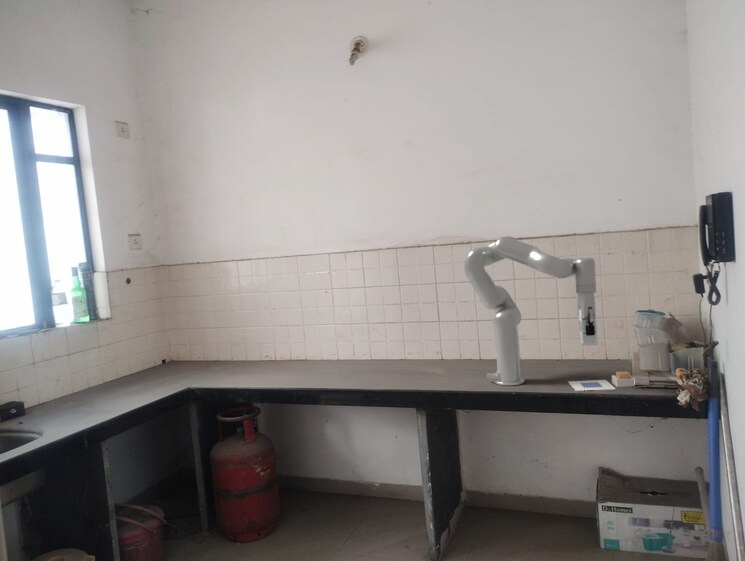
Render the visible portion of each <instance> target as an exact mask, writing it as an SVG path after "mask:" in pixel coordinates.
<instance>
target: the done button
mask: <svg viewBox="0 0 745 561" xmlns="http://www.w3.org/2000/svg"><path fill="white" fill-rule="evenodd" d="M615 375H616V377H617V378H618V379H628V378H631V376H632V375H631V373H630V372H628V370H627V371H626V370H625V371H615ZM630 375H631V376H630Z"/></svg>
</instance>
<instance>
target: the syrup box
mask: <svg viewBox="0 0 745 561" xmlns="http://www.w3.org/2000/svg"><path fill="white" fill-rule="evenodd" d="M593 316H594V314H593ZM587 317H589V316H587ZM578 318H579V319H578V320H579V334H580V335H579V336H580V344H581V345H582V346H599V345H598V344H599V343H598V328H597V314H596V315H595V317H594V328H595V335H589V336H587V335H586V317H585V318H582V311H581V310H579V316H578ZM588 320H589V319H588Z"/></svg>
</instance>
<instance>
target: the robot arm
mask: <svg viewBox="0 0 745 561" xmlns="http://www.w3.org/2000/svg"><path fill="white" fill-rule="evenodd" d="M504 259H508V260H511V261H514V262H516V263H519V264H521V265H524V266H527V267H529V268H532V269H535V271H539V272H541V273H544V274H547V275H550V276H552V277H555V278H558V279H567V278H568V277H572V276H575V278H574V280H575V293H576V294H577V316H578V317H579V310H581V311H582V318H585V317H586V335H587V336H589V335H595V328H594V317H595V315H596V316H597V314H596V312H597V311H596V300H595V294H596V293H597V283H596V282H597V280H596V266H595V264H596V262H595V259H594V258H592V257H583V258H582V257H581V258H580V257H579V258H567V257H566V258H560V257H556V256H553V255H551V254H548V253H546V252H545V251H542V250H540V248H538V247H536V246H535V245H532V244H529V243H526V242H523V241H519V240H517V239H516V238H515V237H513V236H510V235H509V236H500V237H499V238H497V240H496V241H494V242H493V243H490V244H487V245H484V246H481V247H476V248H474V249H471V251H469V252H468V253H467V255H466V256H465V259H464V264H463V265H464V266H463V267H464V274H465V275H466V277H467V279H468V281H469V282H470V284H471V286H472V288H473V289H474V290H475V293H476V294H477V295H478V296H477V297H479V299H480V301H481V302H482V304H483V306H484V307H485V308H486V309H489V310H494V313H495V314H494V316H493V320H492V326H493V334H494V339H495V354H496V366H497V367H496V368H497V369H496V370H495V371H496V372H493V373H486V378H487V379H490V380H491V379H493V380H494V383H495V384H497V385H499V386H518V385H522V384H524V383H525V378H524V377H521V363H520V345H519V335H518V330H517V327H518V325H519V324H521V322H522V314H521V311H520V310H519V307H518V306H517V304H516V303H515V301H514V300H513V298H512V297H511V295H510V293H509V292H508V290H507V289H506V288H505V287H503V286H501V285H497V284H495V283H494V282H495V281H493V279H492V277H491V276H490V274H489V273H488V272H487V271H486V269H485V267H487V266H490V265H493V264H495V263H497V262H500V261H503V260H504ZM593 314H594V316H593ZM587 316H589V317H587ZM588 319H589V320H588Z"/></svg>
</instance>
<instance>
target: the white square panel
mask: <svg viewBox="0 0 745 561" xmlns="http://www.w3.org/2000/svg"><path fill="white" fill-rule="evenodd" d="M567 383H568V384H569V385H570V386H571V387H572V389H573V388H574V389H575V390H574V389H573V390H574V391H575V392H588V391H589V390H594V391H610V390H611V391H613V390H614V391H615V390H617V388H616V387H614V385H613V384H611V383H610V382H609V381H608V380H606V379H597V380H596V379H594V380H592V379H591V380H569V381H567ZM584 390H585V391H584ZM587 390H588V391H587Z"/></svg>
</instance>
